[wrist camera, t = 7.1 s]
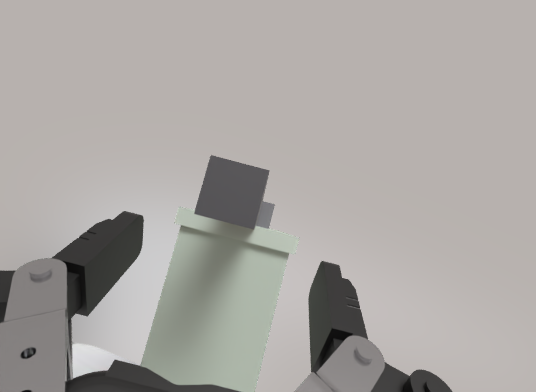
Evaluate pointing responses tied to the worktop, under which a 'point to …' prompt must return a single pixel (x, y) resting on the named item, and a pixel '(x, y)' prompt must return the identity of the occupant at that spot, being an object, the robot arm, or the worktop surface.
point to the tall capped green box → (217, 303)
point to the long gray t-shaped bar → (234, 194)
